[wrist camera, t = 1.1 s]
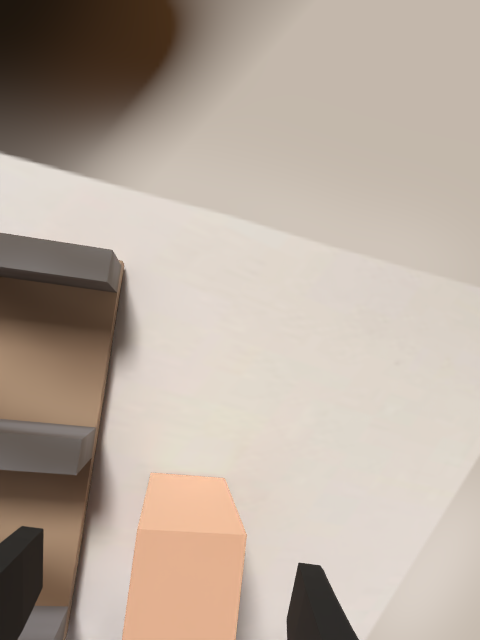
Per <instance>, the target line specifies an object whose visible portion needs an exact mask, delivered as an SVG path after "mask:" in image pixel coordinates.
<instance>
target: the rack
mask: <svg viewBox="0 0 480 640" xmlns="http://www.w3.org/2000/svg"><path fill="white" fill-rule="evenodd" d="M123 270H124V263H123V261H120V260H118V259H117V257H116V255H115V254H114V252H113V250H109V249H103V248H96V247H90V246H83V245H77V244H70V243H64V242H57V241H51V240H44V239H38V238H31V237H25V236H18V235H11V234H5V233H0V543H1V542H2V541H3V540H4V539H6V538H7V537H8V536H9V535H11V534H12V533H13V532H15V531H16V530H17V529H18V528H20V527H21V526H27V527H35V528H42V529H44V538H43V588H42V590H41V592H40V594H39V597H38V599H37V601H36V603H35V606H34V608H33V610H32V612H31V614H30V616H29V618H28V620H27V623H26V625H25V627H24V629H23V631H22V633H21V634H20V636H19V638H18V640H65V638H66V635H67V631H68V624H69V618H70V611H71V605H72V598H73V592H74V585H75V579H76V573H77V566H78V560H79V553H80V547H81V540H82V534H83V527H84V521H85V515H86V508H87V502H88V495H89V489H90V482H91V476H92V469H93V463H94V457H95V450H96V444H97V437H98V431H99V424H100V418H101V411H102V405H103V399H104V392H105V386H106V379H107V373H108V366H109V360H110V353H111V347H112V341H113V334H114V328H115V321H116V315H117V308H118V302H119V295H120V289H121V282H122V276H123Z"/></svg>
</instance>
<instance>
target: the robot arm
mask: <svg viewBox="0 0 480 640" xmlns="http://www.w3.org/2000/svg"><path fill="white" fill-rule="evenodd" d="M43 538H44V529H42V528H35V527H27V526H21V527H20V528H18V529H17V530H16V531H15V532H13V533H12V534H11V535H9V536H8V537H7V538H6V539H4V540H3V541H2V542H1V543H0V640H18V638H19V636H20V634H21V633H22V631H23V629H24V627H25V625H26V623H27V620H28V618H29V616H30V614H31V612H32V610H33V608H34V606H35V603H36V601H37V599H38V597H39V594H40V592H41V590H42V588H43ZM287 640H359V639H358V638H357V636H356V634H355V632H354V630H353V629H352V627H351V625H350V623H349V621H348V619H347V617H346V615H345V613H344V611H343V609H342V607H341V606H340V604H339V602H338V600H337V598H336V596H335V594H334V591H333V589H332V587H331V585H330V583H329V581H328V579H327V577H326V575H325V572H324V570H323V569H322V567H321V566H320V565H313V564H305V563H298V568H297V573H296V578H295V582H294V587H293V592H292V596H291V601H290V606H289V611H288V615H287Z"/></svg>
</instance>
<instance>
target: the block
mask: <svg viewBox="0 0 480 640" xmlns="http://www.w3.org/2000/svg"><path fill="white" fill-rule="evenodd" d="M246 537H247V534H246V532H245V529H244V527H243V524H242V521H241V519H240V516H239V514H238V511H237V509H236V506H235V503H234V501H233V498H232V496H231V493H230V491H229V488H228V485H227V483H226V480H225V478H215V477H202V476H188V475H175V474H162V473H151V474H150V479H149V483H148V487H147V491H146V495H145V499H144V504H143V508H142V512H141V516H140V520H139V525H138V529H137V536H136V543H135V550H134V557H133V564H132V571H131V579H130V586H129V593H128V600H127V607H126V615H125V622H124V629H123V636H122V640H235V639H236V630H237V621H238V611H239V602H240V593H241V584H242V574H243V565H244V556H245V547H246Z"/></svg>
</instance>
